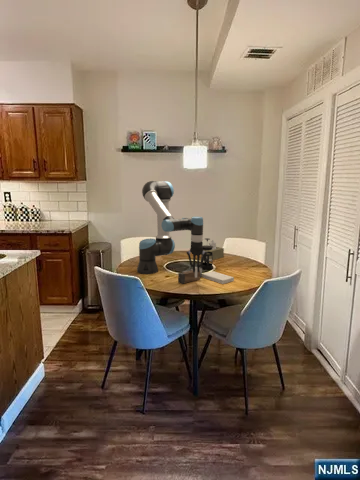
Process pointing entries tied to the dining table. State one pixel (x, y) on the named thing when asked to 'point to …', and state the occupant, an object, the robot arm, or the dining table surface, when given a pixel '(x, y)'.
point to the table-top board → (218, 277)
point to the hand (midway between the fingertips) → (195, 276)
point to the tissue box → (215, 251)
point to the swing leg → (188, 277)
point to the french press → (207, 257)
